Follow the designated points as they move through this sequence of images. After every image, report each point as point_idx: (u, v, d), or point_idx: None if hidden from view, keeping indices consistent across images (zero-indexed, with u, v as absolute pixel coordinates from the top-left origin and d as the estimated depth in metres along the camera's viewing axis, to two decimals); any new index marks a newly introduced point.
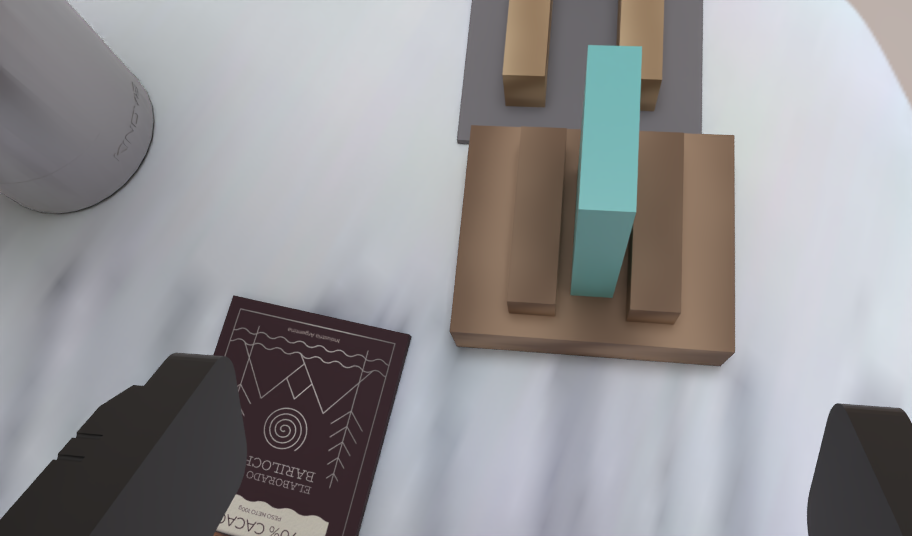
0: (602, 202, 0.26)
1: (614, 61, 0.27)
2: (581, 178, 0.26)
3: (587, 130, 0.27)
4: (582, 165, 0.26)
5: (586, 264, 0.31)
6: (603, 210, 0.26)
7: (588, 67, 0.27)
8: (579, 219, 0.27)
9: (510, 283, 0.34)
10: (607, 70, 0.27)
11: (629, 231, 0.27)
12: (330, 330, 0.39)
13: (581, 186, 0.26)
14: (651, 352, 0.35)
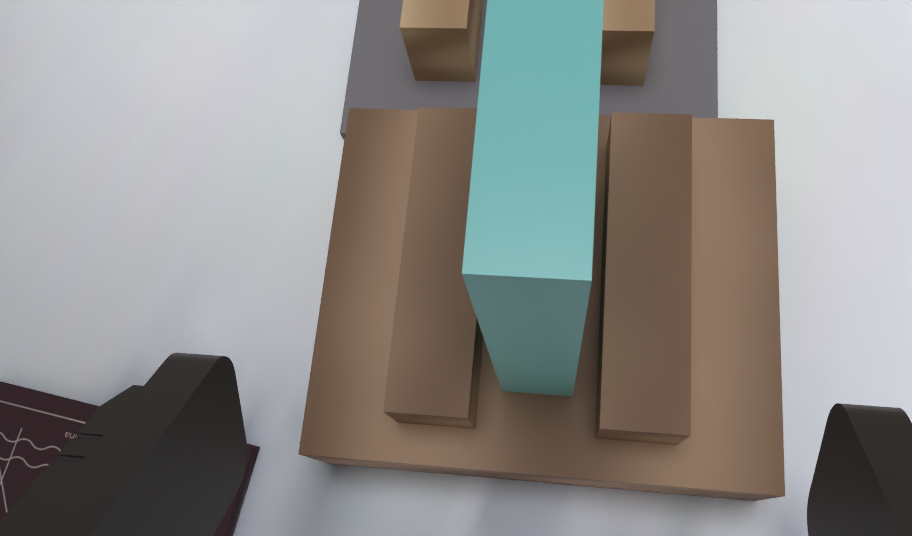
0: (516, 258, 0.11)
1: None
2: (470, 203, 0.12)
3: (487, 98, 0.12)
4: (474, 174, 0.12)
5: (514, 357, 0.17)
6: (516, 277, 0.11)
7: None
8: (472, 291, 0.12)
9: (391, 379, 0.19)
10: None
11: (583, 313, 0.13)
12: None
13: (470, 221, 0.12)
14: (640, 486, 0.21)
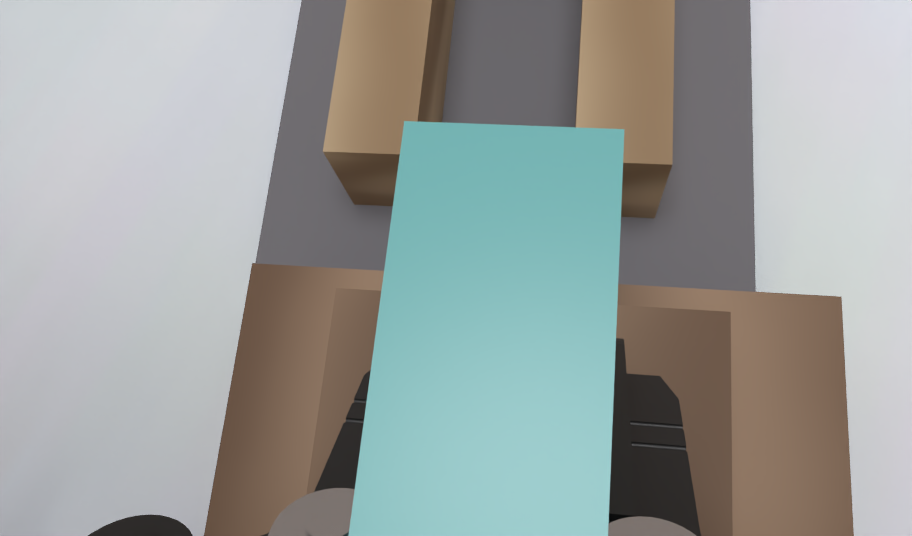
0: None
1: (507, 193, 0.06)
2: None
3: (368, 526, 0.06)
4: None
5: None
6: None
7: (398, 217, 0.06)
8: None
9: None
10: (476, 232, 0.06)
11: None
12: None
13: None
14: None
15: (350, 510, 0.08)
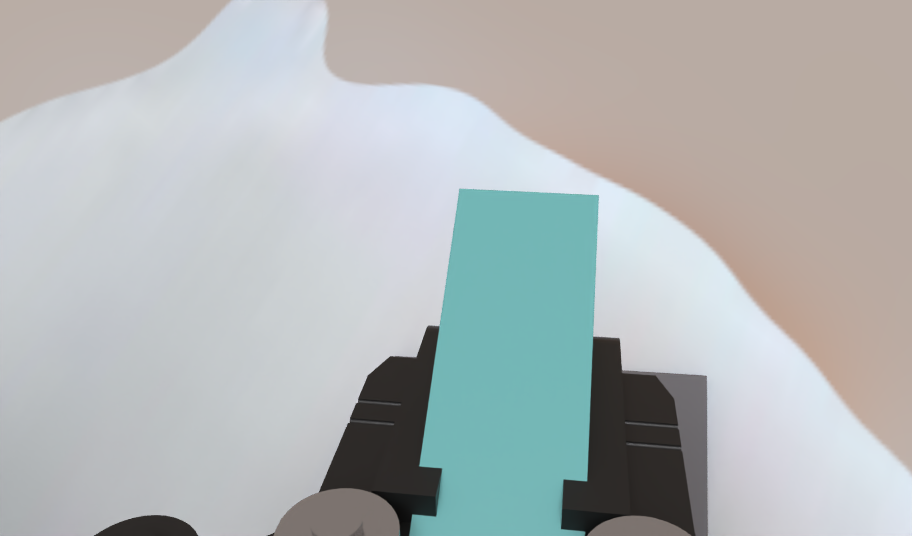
0: None
1: (525, 231, 0.10)
2: None
3: (437, 424, 0.09)
4: None
5: None
6: None
7: (455, 244, 0.10)
8: None
9: None
10: (505, 254, 0.10)
11: None
12: None
13: None
14: None
15: (356, 511, 0.08)
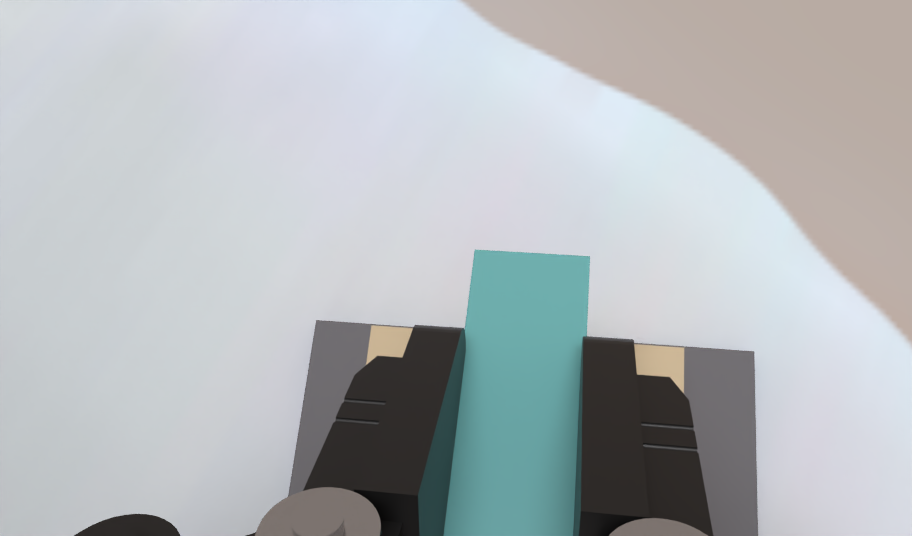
0: None
1: (529, 286, 0.12)
2: None
3: (459, 447, 0.11)
4: None
5: None
6: None
7: (472, 297, 0.12)
8: None
9: None
10: (513, 305, 0.12)
11: None
12: None
13: None
14: None
15: (337, 509, 0.08)
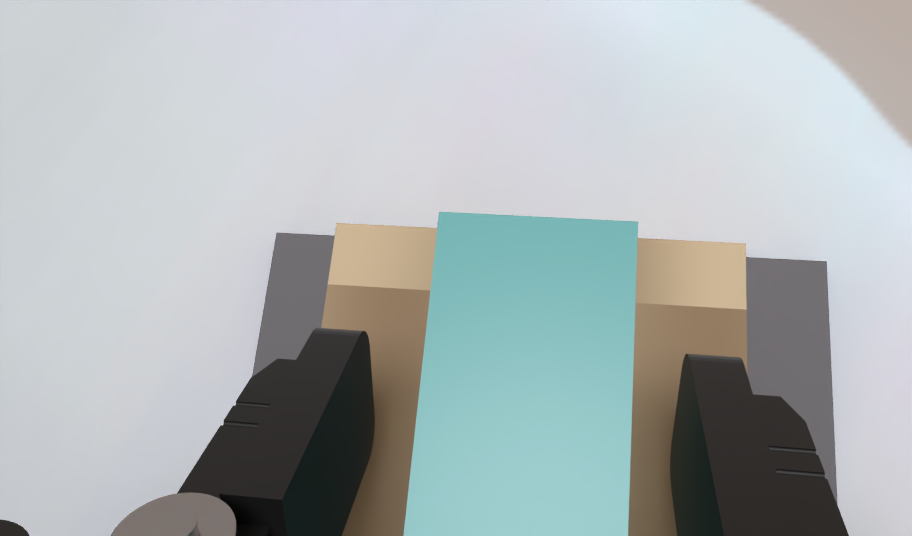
0: None
1: (533, 280, 0.07)
2: None
3: None
4: None
5: None
6: None
7: (435, 302, 0.07)
8: None
9: None
10: (505, 317, 0.07)
11: None
12: None
13: None
14: None
15: (189, 512, 0.08)
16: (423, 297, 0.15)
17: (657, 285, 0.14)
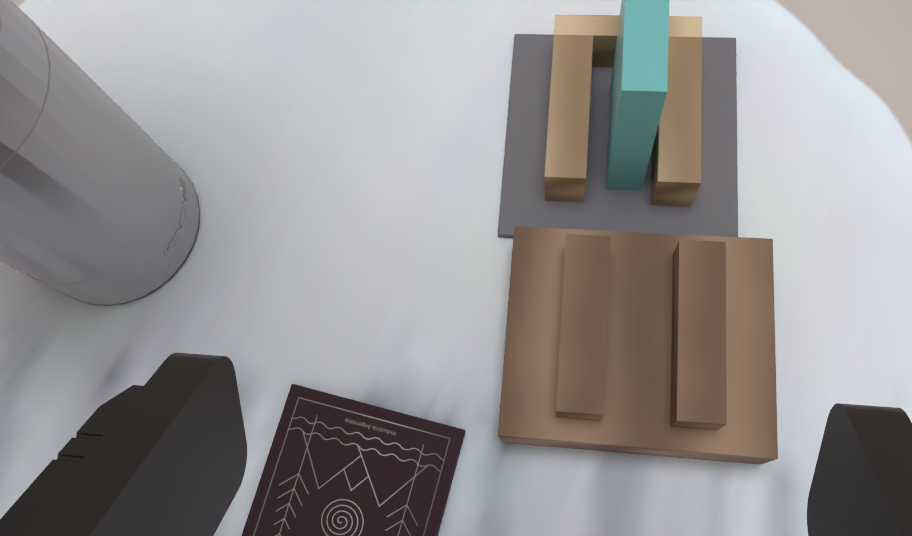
0: (640, 84, 0.33)
1: None
2: (623, 67, 0.33)
3: (626, 30, 0.34)
4: (623, 57, 0.33)
5: (622, 152, 0.38)
6: (641, 91, 0.33)
7: None
8: (621, 101, 0.34)
9: (559, 393, 0.35)
10: None
11: (660, 113, 0.34)
12: (386, 422, 0.40)
13: (623, 73, 0.33)
14: (694, 454, 0.36)
15: None
16: (589, 37, 0.42)
17: (671, 30, 0.41)
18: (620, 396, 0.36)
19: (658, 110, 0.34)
